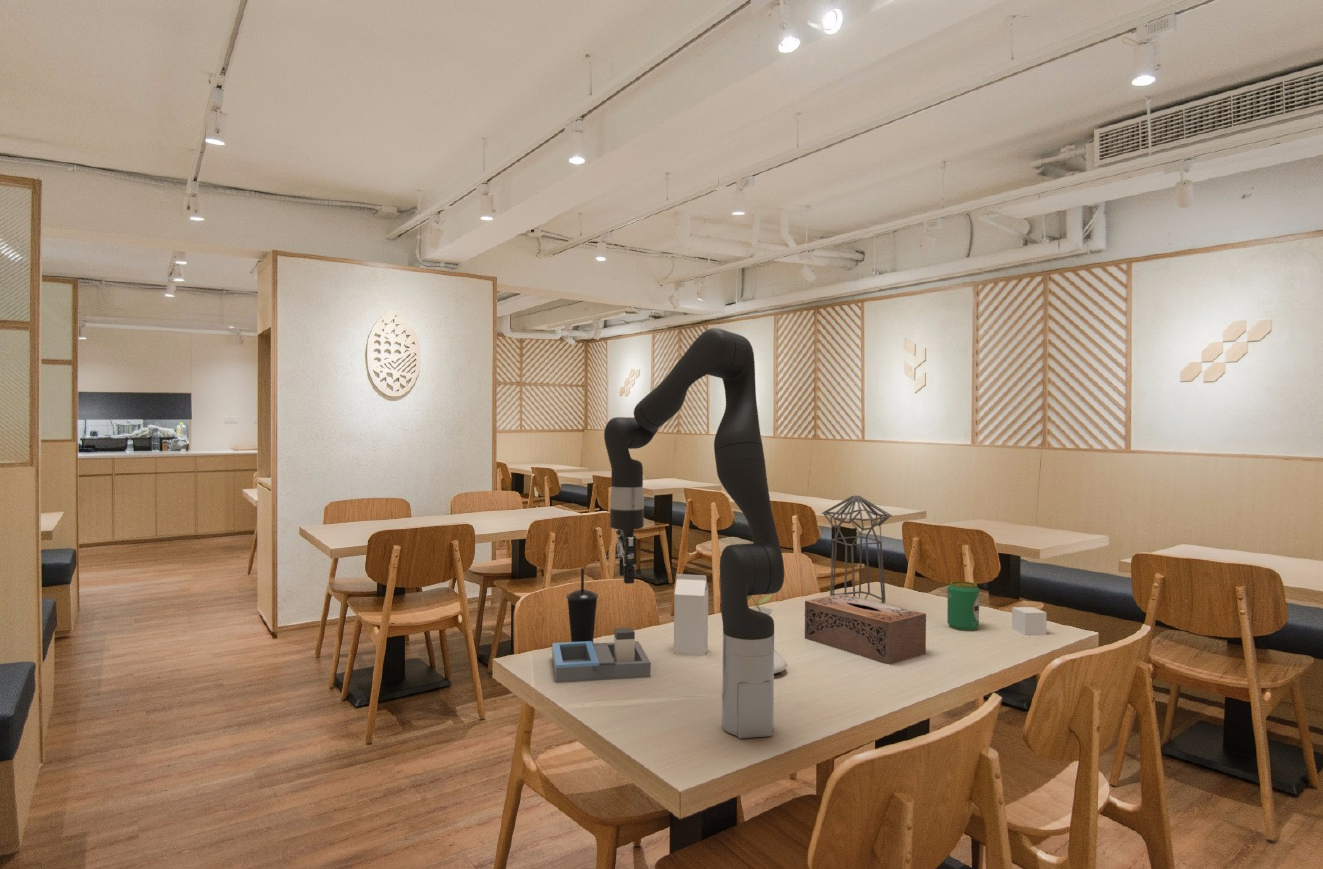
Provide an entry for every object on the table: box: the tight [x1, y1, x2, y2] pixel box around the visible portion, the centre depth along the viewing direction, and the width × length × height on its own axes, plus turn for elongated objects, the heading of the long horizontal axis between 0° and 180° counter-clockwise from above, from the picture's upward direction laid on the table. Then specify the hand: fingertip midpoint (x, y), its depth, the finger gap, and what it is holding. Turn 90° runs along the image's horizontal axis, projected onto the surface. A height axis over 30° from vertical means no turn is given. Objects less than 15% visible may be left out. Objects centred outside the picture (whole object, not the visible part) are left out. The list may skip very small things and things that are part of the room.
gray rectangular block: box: [613, 627, 636, 662], centre depth 163 cm, size 4×4×8 cm
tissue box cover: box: [804, 593, 927, 665], centre depth 183 cm, size 26×14×10 cm, turn 36°
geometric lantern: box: [821, 495, 893, 604], centre depth 214 cm, size 16×16×35 cm
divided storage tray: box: [551, 640, 652, 684], centre depth 162 cm, size 16×20×5 cm
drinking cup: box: [566, 568, 599, 644], centre depth 177 cm, size 8×8×20 cm
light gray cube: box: [1011, 606, 1048, 636], centre depth 197 cm, size 6×6×6 cm
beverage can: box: [946, 580, 980, 632], centre depth 201 cm, size 8×8×12 cm
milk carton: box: [673, 573, 709, 656], centre depth 176 cm, size 7×7×19 cm
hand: (626, 579), depth 164 cm, fingers open, 8 cm apart
